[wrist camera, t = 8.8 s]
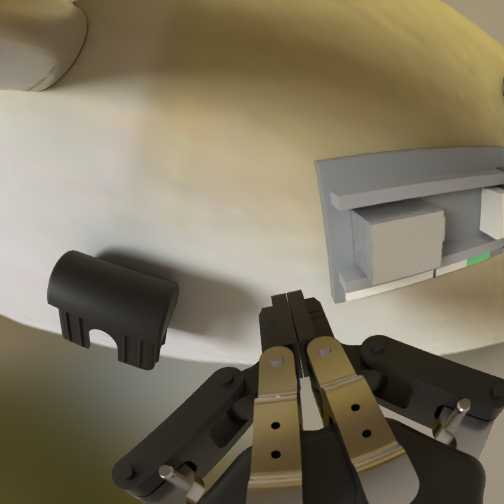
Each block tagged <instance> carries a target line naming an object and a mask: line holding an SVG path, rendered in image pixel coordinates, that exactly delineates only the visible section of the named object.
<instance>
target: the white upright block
mask: <svg viewBox="0 0 504 504" xmlns="http://www.w3.org/2000/svg"><path fill="white" fill-rule="evenodd" d="M480 230H481V231H482V232H484V233H486V234H488V235H489V236H491V237H493V238H494V239H496V240H498V239H501V238H504V189H501V188H498V187H496V186H486V187H481V217H480Z"/></svg>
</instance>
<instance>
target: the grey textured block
mask: <svg viewBox="0 0 504 504" xmlns="http://www.w3.org/2000/svg"><path fill="white" fill-rule="evenodd" d="M351 217H352V228H353V240H354V255H355V262H356V263H357V264H358V266H359V267H360V268H361V270H362V271H363V272H364V273H365V275H366V276H367V277H368V279H369V280H370V281H371V283H372V284H373V285H377V284H381V283H384V282H388V281H392V280H396V279H399V278H403V277H406V276H410V275H413V274H417V273H420V272H424V271H427V270H431V269H434V268H437V267H440V266H441V255H442V242H443V241H444V238H445V217H444V211H443V210H441V209H439V208H437V207H435V206H433V205H431V204H429V203H427V202H424V201H422V200H420V199H418V198H410V199H404V200H398V201H392V202H386V203H381V204H375V205H370V206H364V207H359V208H353V209H351Z"/></svg>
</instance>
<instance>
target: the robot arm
mask: <svg viewBox="0 0 504 504" xmlns="http://www.w3.org/2000/svg"><path fill="white" fill-rule="evenodd" d="M86 32H87V18H86V16H85V13H84V12H83V11H82V10H81V9H80V8H78V7H76V6H75V5H74V4H73V0H0V90H17V91H41V90H44V89H46V88H48V87H50V86H51V85H53V84H54V83H55V82H56V81H58V80H59V79H60V78H61V77H62V76H63V75H64V74H65V73H66V72H67V70H68V69H69V68H70V66H71V65H72V64H73V62H74V61H75V59H76V57H77V56H78V54H79V52H80V50H81V48H82V46H83V43H84V40H85V37H86ZM287 298H288V301H287ZM271 299H272V305H273V306H271V307H266V308H262V310H261V312H260V314H259V323H260V334H261V345H262V355H261V356H260V359H259V361H258V362H257V363H256V364H255V365H254V366H252V367H250V368H248V369H245V370H243V371H240V370H239V369H237V368H235V367H225V368H221V369H219V370H217V371H216V372H214V373H213V374H212V375H211V376H210V377H209V378H208V380H206V381H205V382H204V383H203V384H202V385H201V386H200V387H199V388H198V389H197V390H196V391H195V392H194V393H193V394H192V395H191V396H190V397H189V398H188V399H187V400H186V401H185V402H184V403H183V404H182V405H181V406H180V407H179V408H177V410H175V411H174V412H173V413H172V414H171V415H170V416H169V417H168V418H167V419H166V420H165V421H164V422H163V423H161V424H160V425H159V426H158V427H157V428H156V429H155V430H154V431H153V432H151V433H150V434H149V435H148V436H147V437H146V438H145V439H144V440H143V441H142V442H140V443H139V444H138V445H137V446H136V447H135V448H133V449H132V450H131V451H130V452H129V453H128V454H126V455H125V456H124V457H123V458H122V459H121V460H119V461H118V462H117V463H116V464H115V466H114V467H113V470H112V479H113V481H114V483H115V484H116V485H117V486H118V487H120V488H121V489H123V490H125V491H127V492H128V493H130V494H131V495H133V496H135V497H136V498H138V499H140V500H141V501H142V502H143V503H144V504H483V494H484V488H485V482H486V479H485V478H486V476H485V471H484V468H483V466H482V464H481V463H480V461H479V460H478V459H479V457H480V454H481V452H482V450H483V448H484V445H485V443H486V440H487V438H488V435H489V433H490V430H491V428H492V425H493V422H494V420H495V419H496V418H497V416H498V415H499V414H500V413H501V411H502V410H503V409H504V379H502V378H499V377H496V376H493V375H490V374H487V373H484V372H481V371H478V370H476V369H472V368H470V367H467V366H464V365H461V364H459V363H456V362H453V361H450V360H448V359H445V358H442V357H439V356H437V355H434V354H431V353H429V352H426V351H423V350H421V349H418V348H415V347H413V346H410V345H407V344H405V343H402V342H399V341H397V340H394V339H392V338H389V337H387V336H383V335H374V336H371V337H369V338H367V339H366V340H365V341H364V342H363V343H362V345H345V344H342V343H340V342H339V341H338V340H337V339H336V338H335V337H334V335H333V333H332V330H331V328H330V325H329V323H328V320H327V318H326V316H325V313H324V311H323V308H322V306H321V303H320V302H319V301H318V300H316V299H315V298H314V297H312V298H308V299H304V297H303V294H302V291H301V290H297V291H293V292H288V293H287V297H286V293H284V294H279V295H274V296H271ZM288 304H289V305H288ZM300 360H301V361H300ZM301 364H302V368H301ZM302 369H303V373H304V377H308V376H309V377H310V381H311V388H312V392H313V395H314V398H315V401H316V404H317V407H318V410H319V413H320V416H321V419H322V422H323V426H324V428H322V429H320V430H315V431H304V430H303V418H302V407H301V397H300V389H301V387H300V380H299V378H303V375H302ZM378 404H379V405H381V406H383V407H385V408H387V409H389V410H391V411H393V412H395V413H398V414H400V415H402V416H404V417H406V418H408V419H411V420H413V421H415V422H417V423H420V424H422V425H424V426H427V427H429V428H431V429H432V433H433V436H434V438H435V439H433V438H431V437H429V436H427V435H425V434H423V433H421V432H419V431H417V430H415V429H413V428H411V427H409V426H407V425H405V424H403V423H401V422H399V421H397V420H394V419H391V418H386V417H384V415H383V413H382V411H381V409H380V407H379V405H378ZM252 423H253V437H252V438H253V439H252V446H250V447H249V448H247V449H246V450H244V451H243V452H242V453H241V454H240V455H239V456H238V457H237V458H236V459H235V460H234V461H233V462H232V464H231V465H230V466H229V468H227V470H226V471H225V472H224V473H223V474H222V475H221V477H220V478H219V479H218V480H217V481H216V482H215V483H214V485H213V486H212V487H211V488H210V489H209V490H208V491H207V492H206V493H205V494H204V495H203V496H202V498H201V499H200V500H199V498H200V497H201V495H202V494H203V492H204V490H205V483H204V480H203V478H204V477H205V475H206V474H207V473H208V472H209V471H210V470H211V469H212V468H213V467H214V466H215V465H216V464H217V463H218V462H219V461H220V460H221V459H222V458H223V457H224V456H225V454H226V453H227V452H228V451H229V450H230V449H231V448H232V447H233V445H234V444H235V443H236V442H237V441H238V440H239V439H240V438H241V436H242V435H243V434H244V433H245V432H246V431H247V429H248V428H249V427H250V426H251V424H252ZM198 500H199V501H198Z"/></svg>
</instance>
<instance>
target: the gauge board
mask: <svg viewBox="0 0 504 504" xmlns="http://www.w3.org/2000/svg"><path fill="white" fill-rule="evenodd" d="M315 167H316V173H317V179H318V185H319V191H320V198H321V204H322V211H323V219H324V226H325V234H326V242H327V251H328V261H329V270H330V281H331V293H332V298H333V300H334V302H335V304H336V303H340V302H345V301H351V300H355V299H359V298H363V297H366V296H370V295H374V294H378V293H382V292H385V291H389V290H393V289H396V288H400V287H403V286H407V285H410V284H413V283H417V282H420V281H423V280H427V279H430V278H434V277H436V276H439V275H442V274H445V273H449V272H452V271H455V270H457V269H460V268H463V267H467V266H470V265H473V264H476V263H478V262H481V261H484V260H487V259H489V258H490V257H493V256H495V255H498V254H500V253H502V249H503V248H504V238H501V239H498V240H496V239H494V238H493V237H491V236H489V235H488V234H486V233H484V232H482V231H481V230H480V217H481V187H486V186H496V187H498V188H501V189H504V147H500V146H465V147H439V148H422V149H409V150H397V151H387V152H378V153H369V154H361V155H353V156H345V157H338V158H331V159H325V160H318V161H315ZM410 198H418V199H420V200H422V201H424V202H427V203H429V204H431V205H433V206H435V207H437V208H439V209H441V210H443V211H444V217H445V238H444V241H443V242H442V255H441V266H440V267H437V268H434V269H431V270H427V271H424V272H420V273H417V274H413V275H410V276H406V277H403V278H399V279H396V280H392V281H388V282H384V283H381V284H377V285H373V284H372V283H371V281H370V280H369V279H368V277H367V276H366V275H365V273H364V272H363V271H362V270H361V268H360V267H359V266H358V264H357V263H356V262H355V255H354V240H353V228H352V217H351V209H353V208H359V207H364V206H370V205H375V204H381V203H386V202H392V201H398V200H404V199H410Z"/></svg>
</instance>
